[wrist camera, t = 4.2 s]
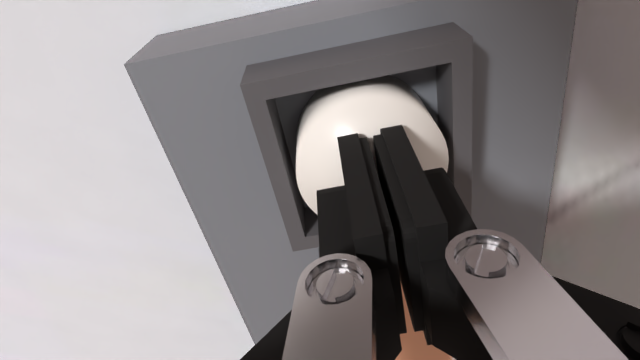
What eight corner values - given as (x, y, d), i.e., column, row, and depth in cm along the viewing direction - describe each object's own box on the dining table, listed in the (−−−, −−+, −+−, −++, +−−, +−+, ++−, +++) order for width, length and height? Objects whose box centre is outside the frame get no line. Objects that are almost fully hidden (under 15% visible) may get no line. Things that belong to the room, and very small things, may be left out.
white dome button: (282, 88, 12) (279, 118, 10) (424, 58, 11) (446, 85, 10) (311, 200, 14) (313, 240, 12) (431, 178, 13) (450, 217, 12)
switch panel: (156, 35, 14) (101, 84, 10) (527, -46, 13) (622, -27, 9) (320, 437, 29) (323, 516, 25) (493, 413, 28) (523, 492, 24)
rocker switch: (327, 278, 14) (327, 299, 13) (444, 258, 14) (454, 278, 13) (352, 389, 16) (355, 414, 15) (456, 374, 16) (465, 398, 15)
